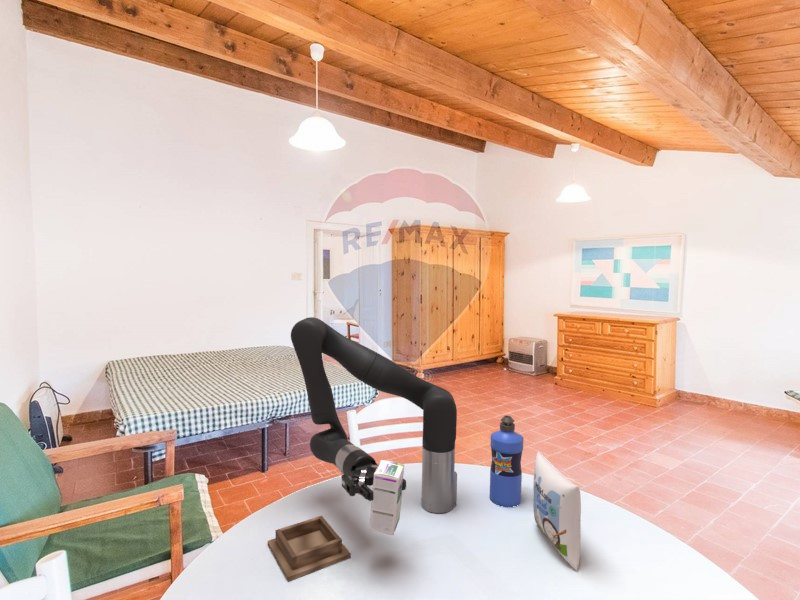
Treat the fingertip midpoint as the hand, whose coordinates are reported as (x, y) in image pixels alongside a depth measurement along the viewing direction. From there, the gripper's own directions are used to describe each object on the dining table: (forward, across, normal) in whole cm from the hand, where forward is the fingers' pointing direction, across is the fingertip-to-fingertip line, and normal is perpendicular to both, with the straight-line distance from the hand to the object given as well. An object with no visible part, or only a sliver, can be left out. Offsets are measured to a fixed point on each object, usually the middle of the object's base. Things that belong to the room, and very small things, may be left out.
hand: (388, 491), depth 98 cm
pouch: (+15, +39, +19) cm, 45 cm away
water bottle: (-7, +45, +19) cm, 49 cm away
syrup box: (-2, 0, +9) cm, 9 cm away
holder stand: (-15, -13, +18) cm, 27 cm away
